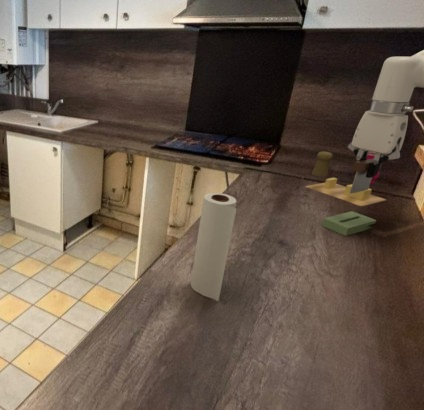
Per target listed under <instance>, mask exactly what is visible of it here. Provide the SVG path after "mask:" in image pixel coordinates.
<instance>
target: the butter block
mask: <svg viewBox="0 0 424 410" xmlns="http://www.w3.org/2000/svg"><path fill="white" fill-rule="evenodd" d="M352 184H353V183H351V184H347V185H346V186H345V187H346V189H345V192H344V195H347V196H349V197H352V198H355V199H358V200H361V201H362V200H366V199H369V197H370V195H372V190H373V189H372V188H370V187H369V188H368V190H365V191H360V192H356V193H351V194H350V190H351V187H352Z"/></svg>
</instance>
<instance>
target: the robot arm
mask: <svg viewBox="0 0 424 410" xmlns="http://www.w3.org/2000/svg"><path fill="white" fill-rule="evenodd" d="M415 88H422V89H424V49H423V50H421V51H419V52H417V53H415V54H413V55H411V56H390V57H388V58H386V59H385V60H384V61H383V64H382V67H381V70H380V73H379V76H378V78H377V83H376V85H375V89H374V92H373V95H372V98H371V101H370V104H369V108H368V110H366V111H365V112H364V114H363V115H362V117H361V118H360V120H359V122H358V125H357V126H356V129H355V132H354V135H353V137H352V140H351V142H350V143H349V144H348V145H347V148H348V149H349V150H350V151H351V152H353V153H354V155H355V159H356V161H363V160H366V159H367V156H368V153H369V151H372V152H376V154H375V157H374V160H373V163H371V164H370V165H369V168H368V171H367V174H366V178H371V177H375V175H377V173H378V170H380V169H379V167H380V165H381V163H382V164H384V163H385V162H387V161H390V160H397V159H400V158H401V152H400V151H401V149H402V147H403V144H404V141H405V137H406V133H407V130H408V129H407V128H408V121H409V115H408V114H406V113H408V112H409V113H410V112H411V113H412V111H414V106H413V105H410V101H411V98H412V95H413V92H414V89H415ZM355 174H356V171H354V175H355Z"/></svg>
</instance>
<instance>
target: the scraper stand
mask: <svg viewBox="0 0 424 410" xmlns="http://www.w3.org/2000/svg"><path fill="white" fill-rule="evenodd" d="M376 222H377V220H376V219H375V218H372V217H368V216H367V215H364V214H361V213H358V212H355V211H352V210H351V211H347V212H343V213H339V214H335V215H331V216H327V217H324V218H323V220H322V224H321V226H322V227H324V228H326V229H328V230H330V231H333V232H335V233H337V234H339V235H342V236H345V237H347V236H351V235H354V234H357V233H361V232H364V231H368V230H371V229H374V227H373V226H371V225H375V224H377V223H376Z"/></svg>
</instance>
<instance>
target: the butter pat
mask: <svg viewBox="0 0 424 410" xmlns="http://www.w3.org/2000/svg"><path fill="white" fill-rule="evenodd" d="M325 182H326V183H325ZM325 182H324V183H325V186H324V188H326V189H331V188H335V185H336V184H337V182H338V178H336V177H329V178H326V179H325Z"/></svg>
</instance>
